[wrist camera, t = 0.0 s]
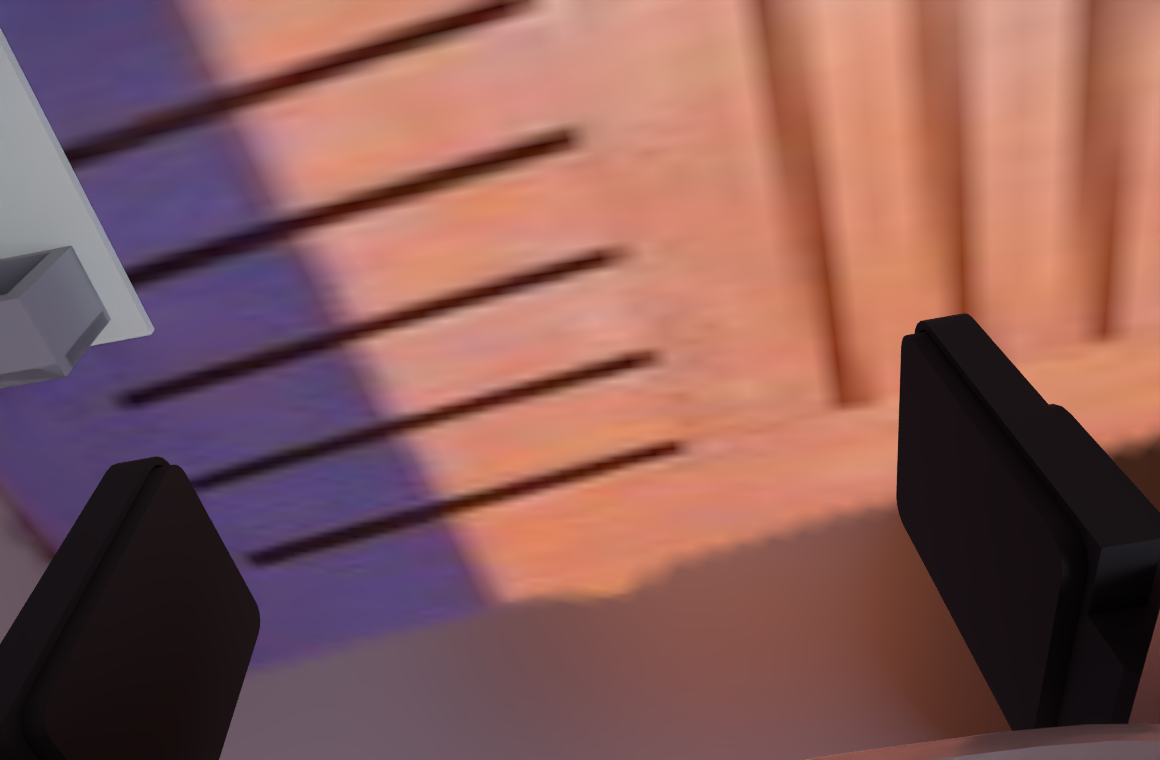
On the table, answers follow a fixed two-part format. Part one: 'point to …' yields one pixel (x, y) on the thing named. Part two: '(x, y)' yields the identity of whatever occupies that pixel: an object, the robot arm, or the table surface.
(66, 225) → the board
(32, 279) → the socket
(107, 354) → the table surface
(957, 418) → the robot arm
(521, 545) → the table surface
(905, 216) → the table surface
